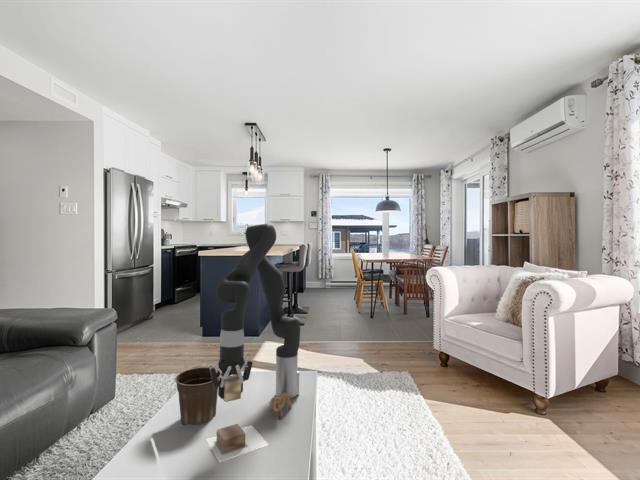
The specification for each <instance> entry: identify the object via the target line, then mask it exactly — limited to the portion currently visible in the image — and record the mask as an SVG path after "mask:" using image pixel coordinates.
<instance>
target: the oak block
mask: <svg viewBox="0 0 640 480" xmlns="http://www.w3.org/2000/svg"><path fill="white" fill-rule="evenodd" d="M241 398H242V393H241V379H239V378H238V377H237V376H236V375H230V376H228V378H227V380H226V381H225V384H224V399H222V400H223V401H224V402H225V403H229V402H232V401H236V400H240V399H241Z"/></svg>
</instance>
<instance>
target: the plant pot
mask: <svg viewBox="0 0 640 480" xmlns="http://www.w3.org/2000/svg"><path fill="white" fill-rule="evenodd" d="M209 367H210V366H209ZM209 367H201V366H200V367H194V368H190V369H186V370H183V371H182V372H180V373H178V374H177V375H176V376H175V378H174V381H175V383H176V389H177V392H178V393H177V394H178V402H179V403H178V404H179V413H180V422H181V424H182V425H184V426H186V425H190V426H192V425H193V426H194V425H195V426H196V425H202V424H205V423H207V422H208V423H209V421H211V420H213V419H214V418H215V417H216V414H217V404H218V386H217V387H216V386H214V384H213V383H212V379H211V374H210V370H209ZM220 374H221V370H220V369H218V372H217V373H216V375H217V380H218V381H219V378H220Z"/></svg>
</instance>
